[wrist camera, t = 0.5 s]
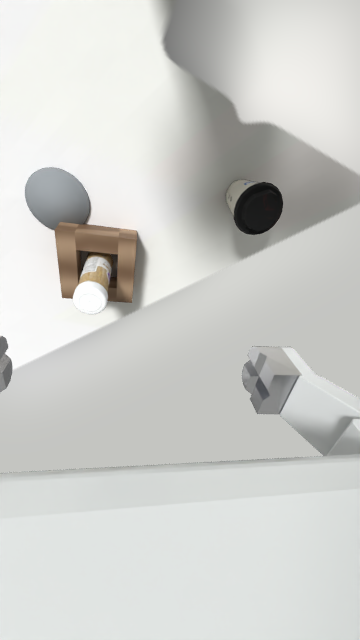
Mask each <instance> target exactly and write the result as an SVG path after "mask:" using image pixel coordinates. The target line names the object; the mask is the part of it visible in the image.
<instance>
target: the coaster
mask: <svg viewBox="0 0 360 640" xmlns="http://www.w3.org/2000/svg"><path fill="white" fill-rule="evenodd" d="M25 198H26V202H27V205H28V207H29V209H30V211H31V212H32V214H33V215H34V216H35V217H36V218H37V219H38V220H39V221H40V222H41V223H42V224H44V225H45V226H47V227H49V228H51V229H54V230H55V229H56V227H57V226H58V224H59V223H60V222H65V223H73V224H81V225H83V224H84V222H85V221H86V219H87V217H88V214H89V210H90V204H89V198H88V195H87V192H86V190H85V189H84V187H83V185H82V184H81V183H80V182H79V181H78V180H77V179H76V178H75V177H74V176H73V175H71V174H70V173H68V172H66V171H64V170H62V169H58V168H52V167H49V168H42V169H40V170H38V171H36V172H34V173H33V174H32V175H31V176H30V177H29V179H28V181H27V183H26V187H25Z"/></svg>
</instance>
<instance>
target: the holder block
mask: <svg viewBox="0 0 360 640" xmlns="http://www.w3.org/2000/svg"><path fill="white" fill-rule="evenodd" d="M55 238H56V247H57V256H58V265H59V274H60V283H61V292H62V298H71V299H73V295H74V292H75V289H76V287H77V286H78V284H79V280H80V277H81V274H82V266H81V251H91V252H100V253H109V254H118V268H117V277H110V281H109V286H108V291H107V294H108V300H107V301H114V302H129V303H132V295H133V283H134V270H135V257H136V244H137V231H135V230H127V229H119V228H111V227H104V226H96V225H88V224H83V225H81V224H73V223H65V222H60V223H59V224H58V226H57V227H56V229H55Z"/></svg>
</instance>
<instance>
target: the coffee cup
mask: <svg viewBox="0 0 360 640" xmlns="http://www.w3.org/2000/svg"><path fill="white" fill-rule="evenodd" d="M226 201H227V204H228V206H229V208H230V210H231V212H232V214H233V216H234V220H235V223H236V226H237V227H238V228H239V229H240V231H242V232H244V233H246V234H251V235H256V234H262V233H264V232H266V231H268V230H269V229H270V228H272V227H273V226H274V225H275V224H276V222H277V221H278V219H279V218H280V215H281V213H282V208H283V200H282V194H281V193H280V191H279V189H278V188H277V187H276V186H274V185H273V184H271V183H266V182H262V183H257V182H253V181H248V180H243V179H241V180H237V181H235V182H233V183H232V184H231V185H230V186H229V188H228V189H227V192H226Z"/></svg>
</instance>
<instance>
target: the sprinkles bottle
mask: <svg viewBox="0 0 360 640" xmlns="http://www.w3.org/2000/svg"><path fill="white" fill-rule="evenodd" d="M112 266H113V258H112V256H111V255H110V254H109V253H100V252H91V251H90V252H89V253H88V256H87V261H86V263H85V265H84V268H83V271H82V274H81V277H80V280H79V284H78V286H77V287H76V289H75V292H74V295H73V303H74V305H75V307H76V308H77V309H78V310H80V311H81V312H83V313H86V314H97V313H100V312H101V311H103V310H104V309H105V307H106V305H107V300H108V294H107V291H108V286H109V281H110V276H111V268H112Z"/></svg>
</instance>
